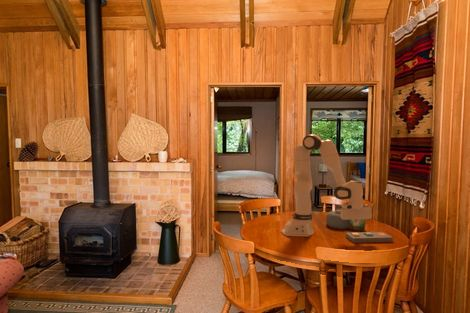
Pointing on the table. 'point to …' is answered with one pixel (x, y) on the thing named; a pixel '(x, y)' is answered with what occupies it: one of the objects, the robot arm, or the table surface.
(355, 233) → the cream button
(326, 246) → the table surface
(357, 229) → the food container
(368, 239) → the button board
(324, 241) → the table surface
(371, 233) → the olive green button
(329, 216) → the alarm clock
